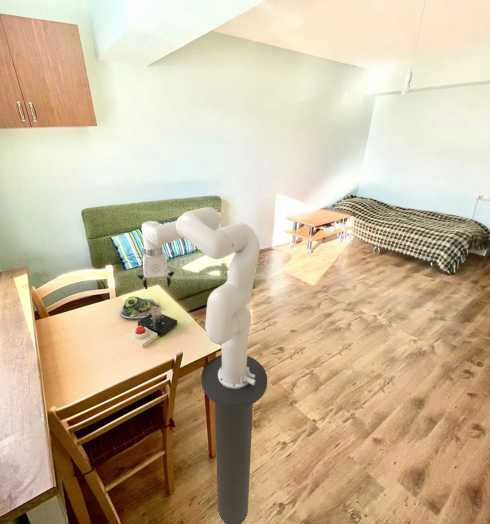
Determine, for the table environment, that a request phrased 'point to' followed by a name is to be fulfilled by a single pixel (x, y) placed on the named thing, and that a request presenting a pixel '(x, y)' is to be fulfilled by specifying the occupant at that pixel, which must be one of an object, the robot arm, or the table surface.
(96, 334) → the table surface
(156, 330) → the hob panel
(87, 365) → the table surface
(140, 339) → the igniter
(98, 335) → the table surface
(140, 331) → the igniter button
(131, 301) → the salad plate
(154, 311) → the stove knob
